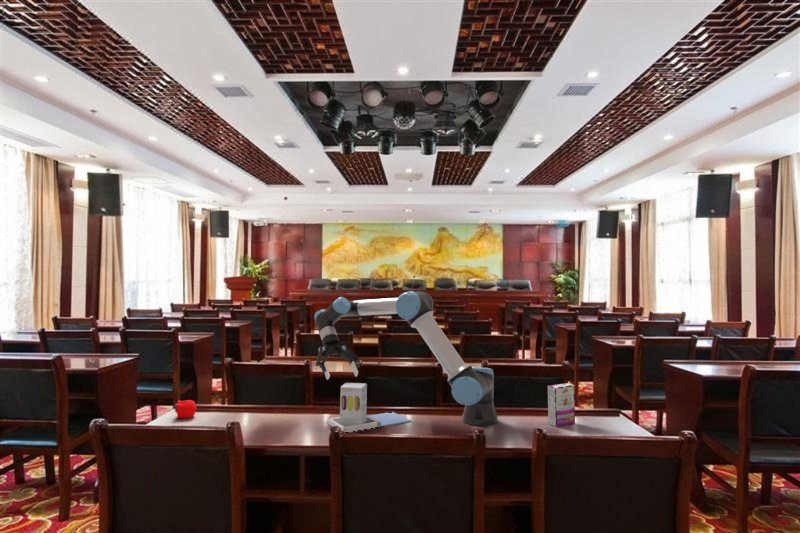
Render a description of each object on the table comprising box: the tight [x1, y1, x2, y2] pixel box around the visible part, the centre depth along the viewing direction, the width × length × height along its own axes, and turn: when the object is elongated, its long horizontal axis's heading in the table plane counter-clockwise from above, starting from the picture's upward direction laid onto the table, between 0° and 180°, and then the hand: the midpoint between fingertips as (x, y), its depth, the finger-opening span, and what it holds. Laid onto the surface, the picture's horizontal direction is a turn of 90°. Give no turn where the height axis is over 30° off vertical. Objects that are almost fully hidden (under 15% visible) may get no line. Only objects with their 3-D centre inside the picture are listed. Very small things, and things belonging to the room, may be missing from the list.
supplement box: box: [339, 382, 368, 427], centre depth 200 cm, size 10×9×17 cm
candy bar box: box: [547, 382, 576, 428], centre depth 204 cm, size 11×5×16 cm, turn 117°
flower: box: [176, 399, 198, 419], centre depth 211 cm, size 8×8×8 cm
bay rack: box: [326, 411, 412, 433], centre depth 204 cm, size 16×32×2 cm, turn 122°
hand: (342, 376), depth 210 cm, fingers open, 13 cm apart
